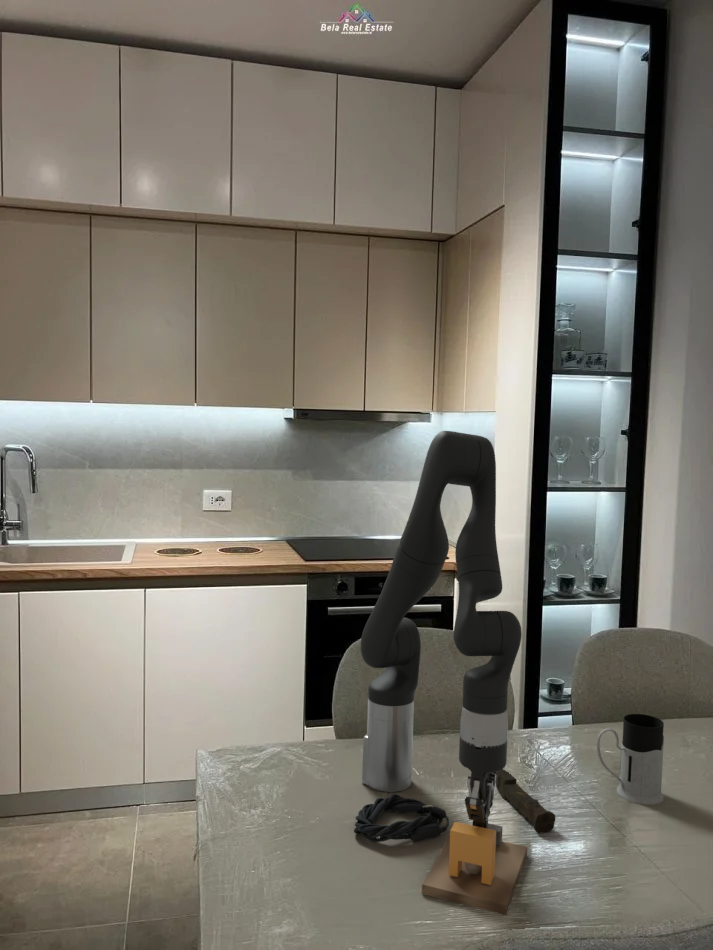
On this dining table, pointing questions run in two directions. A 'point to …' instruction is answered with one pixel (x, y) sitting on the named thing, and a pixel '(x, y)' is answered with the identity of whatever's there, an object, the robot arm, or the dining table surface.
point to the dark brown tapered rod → (524, 802)
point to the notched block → (472, 849)
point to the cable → (400, 829)
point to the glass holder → (639, 759)
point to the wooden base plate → (478, 877)
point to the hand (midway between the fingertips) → (479, 839)
